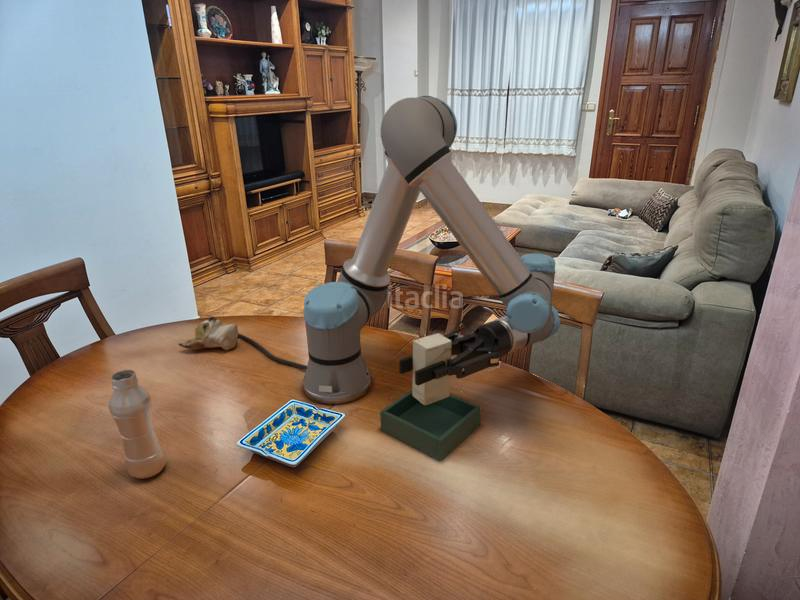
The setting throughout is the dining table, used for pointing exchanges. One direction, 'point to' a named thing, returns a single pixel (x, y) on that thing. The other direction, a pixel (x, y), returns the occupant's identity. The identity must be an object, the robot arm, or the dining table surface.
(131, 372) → the plastic bottle
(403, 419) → the tote
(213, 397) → the dining table surface
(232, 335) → the ceramic sculpture
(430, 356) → the cosmetic box
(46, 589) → the dining table surface
